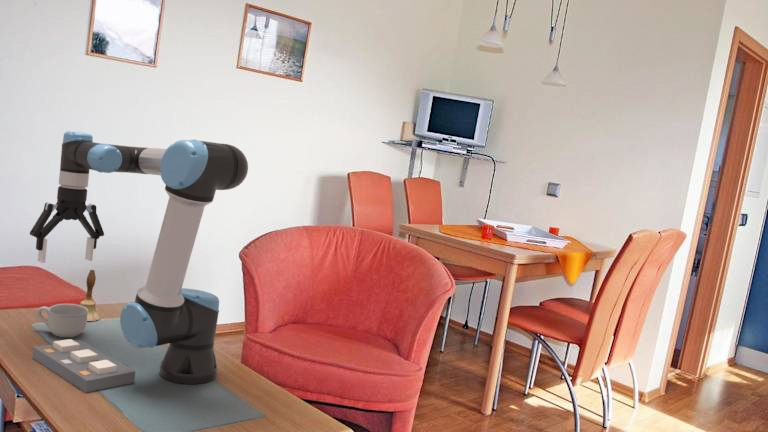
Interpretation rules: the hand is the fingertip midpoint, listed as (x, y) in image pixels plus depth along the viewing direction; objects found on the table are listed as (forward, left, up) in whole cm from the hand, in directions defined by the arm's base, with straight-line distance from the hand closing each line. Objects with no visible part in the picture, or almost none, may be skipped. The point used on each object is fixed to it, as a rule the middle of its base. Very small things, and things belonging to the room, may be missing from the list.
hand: (65, 260), depth 192 cm
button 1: (-15, +5, -21) cm, 26 cm away
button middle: (-24, +5, -21) cm, 32 cm away
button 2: (-33, +5, -21) cm, 39 cm away
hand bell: (+16, -18, -24) cm, 34 cm away
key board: (-24, +5, -23) cm, 34 cm away
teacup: (+5, -4, -24) cm, 24 cm away
